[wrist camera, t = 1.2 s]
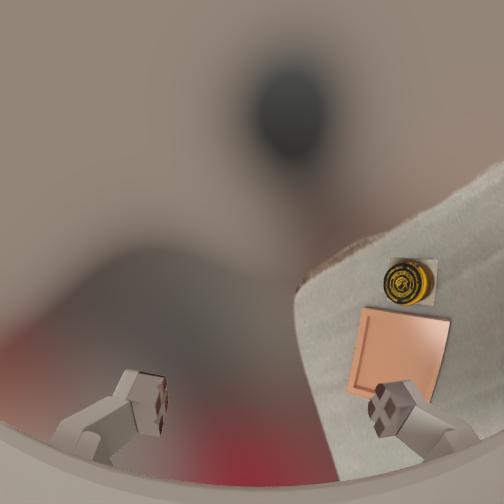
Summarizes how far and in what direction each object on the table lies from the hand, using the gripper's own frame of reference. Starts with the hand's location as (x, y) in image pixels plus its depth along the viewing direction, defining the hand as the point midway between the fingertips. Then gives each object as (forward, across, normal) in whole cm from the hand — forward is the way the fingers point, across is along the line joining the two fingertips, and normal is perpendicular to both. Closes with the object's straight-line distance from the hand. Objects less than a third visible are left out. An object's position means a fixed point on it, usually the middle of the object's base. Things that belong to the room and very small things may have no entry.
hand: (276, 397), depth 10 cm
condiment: (+31, -27, +6) cm, 41 cm away
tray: (+27, -27, +18) cm, 42 cm away
